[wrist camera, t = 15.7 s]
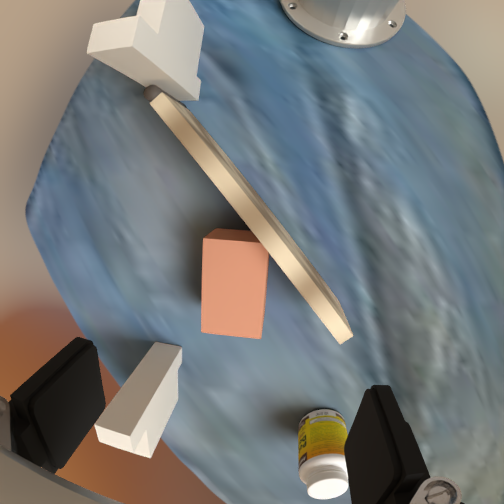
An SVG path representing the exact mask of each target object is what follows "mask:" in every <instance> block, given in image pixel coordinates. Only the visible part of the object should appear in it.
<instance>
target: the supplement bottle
mask: <svg viewBox="0 0 504 504" xmlns="http://www.w3.org/2000/svg"><path fill="white" fill-rule="evenodd" d="M347 437H348V435H347V430H346V425H345V421H344V418H343V417H342V415H341V414H339V413H338V412H336V411H333V410H329V409H321V410H316V411H313V412H311V413H309V414H307V415H306V416H304V417H303V418H302V420H301V421H300V423H299V426H298V446H299V447H298V449H299V455H298V456H299V477H300V479H301V480H302V481H303V482H304V483H305V484H306V485H307V492H308V494H309V495H310V496H311V497H313V498H316V499H330V498H334V497H337V496H339V495H341V494H343V493H344V492H345V491H346V490H347V488H348V474H347V467H346V461H345V455H344V445H345V441H346V439H347Z"/></svg>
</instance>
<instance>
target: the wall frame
mask: <svg viewBox="0 0 504 504" xmlns="http://www.w3.org/2000/svg"><path fill="white" fill-rule="evenodd" d="M203 32H204V25H203V24H202V22H201V20H200V18H199V17H198V15H197V13H196V11H195V10H194V8H193V6H192V5H191V3H190V1H189V0H140V4H139V8H138V11H137V15H136V16H132V17H126V18H120V19H115V20H109V21H105V22H100V23H95V24H94V25H93V29H92V33H91V36H90V40H89V45H88V48H87V54H88V55H90V56H92V57H94V58H96V59H98V60H99V61H101V62H103V63H105V64H107V65H108V66H110V67H112V68H114V69H115V70H117V71H119V72H121V73H122V74H124V75H126V76H128V77H129V78H131V79H133V80H135V81H136V82H138V83H140V84H141V85H143V86H145V87H147V86H149V85H156V86H158V87H159V88H161V89H162V90H164V91H165V92H167V93H168V94H169V95H171V96H172V97H174V98H175V99H177V100H178V101H198V100H199V92H200V85H201V80H200V79H199V78H198V77H197V69H198V63H199V56H200V50H201V44H202V38H203ZM181 363H182V347H180V346H175V345H170V344H165V343H160V342H155V343H154V344H153V346H152V347H151V348H150V350H149V351H148V352H147V354H146V355H145V356H144V358H143V359H142V360H141V362H140V363H139V365H138V366H137V367H136V369H135V370H134V371H133V373H132V374H131V375H130V377H129V378H128V379H127V381H126V382H125V383H124V385H123V386H122V387H121V389H120V390H119V392H118V393H117V394H116V396H115V397H114V398H113V400H112V401H111V402H110V404H109V405H108V407H107V408H106V409H105V411H104V412H103V413H102V415H101V416H100V418H99V419H98V420H97V422H96V423H95V428H96V432H97V436H98V439H99V441H100V442H102V443H105V444H108V445H110V446H113V447H116V448H119V449H122V450H126V451H129V452H131V453H135V454H138V455H141V456H145V457H148V458H151V456H152V454H153V452H154V450H155V447H156V445H157V443H158V441H159V439H160V437H161V435H162V433H163V430H164V428H165V426H166V424H167V422H168V420H169V418H170V415H171V413H172V411H173V409H174V407H175V405H176V403H177V401H178V369H179V367H180V365H181Z"/></svg>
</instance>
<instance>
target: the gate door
mask: <svg viewBox="0 0 504 504" xmlns="http://www.w3.org/2000/svg"><path fill="white" fill-rule="evenodd" d="M144 97H145V98H146V99H147V100H149V101H151V102H150V105H151V106H152V107H153V108H154V109H155V111H156V112H157V113H158V114H159V116H160V117H161V118H162V119H163V121H164V122H165V123H166V124H167V125H168V127H169V128H170V129H171V130H172V132H173V133H174V134H175V135H176V137H177V138H178V139H179V140H180V142H181V143H182V144H183V145H184V147H185V148H186V149H187V150H188V151H189V153H190V154H191V155H192V156H193V158H194V159H195V160H196V161H197V163H198V164H199V165H200V166H201V168H202V169H203V170H204V171H205V173H206V174H207V175H208V176H209V178H210V179H211V180H212V181H213V183H214V184H215V185H216V186H217V188H218V189H219V190H220V191H221V193H222V194H223V195H224V197H225V198H226V199H227V200H228V202H229V203H230V204H231V205H232V207H233V208H234V209H235V210H236V212H237V213H238V214H239V215H240V217H241V218H242V219H243V220H244V222H245V223H246V224H247V226H248V227H249V228H250V229H251V231H252V232H253V233H254V234H255V236H256V237H257V238H258V239H259V241H260V242H261V243H262V245H263V246H264V247H265V248H266V250H267V251H268V252H269V253H270V255H271V256H272V257H273V259H274V260H275V261H276V262H277V264H278V265H279V266H280V268H281V269H282V270H283V271H284V273H285V274H286V275H287V276H288V278H289V279H290V280H291V282H292V283H293V284H294V285H295V287H296V288H297V289H298V291H299V292H300V293H301V294H302V296H303V297H304V298H305V300H306V301H307V302H308V303H309V305H310V306H311V307H312V309H313V310H314V311H315V313H316V314H317V315H318V316H319V318H320V319H321V320H322V322H323V323H324V324H325V325H326V327H327V328H328V329H329V331H330V332H331V333H332V335H333V336H334V337H335V338H336V340H337V341H338V342H339V344H342V343H343V342H345V341H346V340H348V339H349V338H351V337H352V336H353V333H352V331H351V329H350V326H349V324H348V321H347V319H346V317H345V314H344V312H343V309H342V307H341V305H340V302H339V301H338V299H337V298H336V297H335V295H334V294H333V292H332V291H331V290H330V288H329V287H328V286H327V284H326V283H325V282H324V280H323V279H322V278H321V276H320V275H319V273H318V272H317V271H316V269H315V268H314V267H313V265H312V264H311V263H310V261H309V260H308V259H307V257H306V256H305V255H304V253H303V252H302V251H301V249H300V248H299V247H298V246H297V244H296V243H295V242H294V240H293V239H292V238H291V236H290V235H289V234H288V232H287V231H286V230H285V229H284V227H283V226H282V225H281V223H280V222H279V221H278V219H277V218H276V217H275V216H274V214H273V213H272V212H271V210H270V209H269V208H268V207H267V205H266V204H265V203H264V202H263V200H262V199H261V198H260V196H259V195H258V194H257V193H256V191H255V190H254V189H253V188H252V186H251V185H250V184H249V183H248V181H247V180H246V179H245V178H244V176H243V175H242V174H241V173H240V171H239V170H238V169H237V168H236V166H235V165H234V164H233V163H232V161H231V160H230V159H229V158H228V156H227V155H226V154H225V153H224V151H223V150H222V149H221V148H220V147H219V145H218V144H217V143H216V142H215V141H214V139H213V138H212V137H211V136H210V134H209V133H208V132H207V131H206V130H205V128H204V127H203V126H202V125H201V124H200V122H199V121H198V120H197V119H196V118H195V116H194V115H193V114H192V113H191V112H190V110H188V109H187V108H186V106H185V105H184V104H183V103H181V102H180V101H178V100H177V99H175V98H174V97H172V96H171V95H169V94H168V93H167V92H165V91H164V90H162V89H161V88H159V87H158V86H156V85H149V86H147V87H146V89H145V90H144Z"/></svg>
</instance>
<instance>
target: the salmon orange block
mask: <svg viewBox="0 0 504 504" xmlns="http://www.w3.org/2000/svg"><path fill="white" fill-rule="evenodd" d="M268 265H269V252H268V251H267V250H266V248H265V247H264V246H263V245H262V243H261V242H260V241H259V239H258V238H257V237H256V236H255V234H254V233H253V232H252V231H246V230H234V229H220V228H216V229H214V230H213V231H212V232H210V233H209V234H208V235H207V236H205V237H204V238H203V256H202V309H201V332H203V333H211V334H219V335H228V336H237V337H246V338H256V339H261V335H262V328H263V321H264V313H265V301H266V290H267V278H268Z"/></svg>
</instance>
